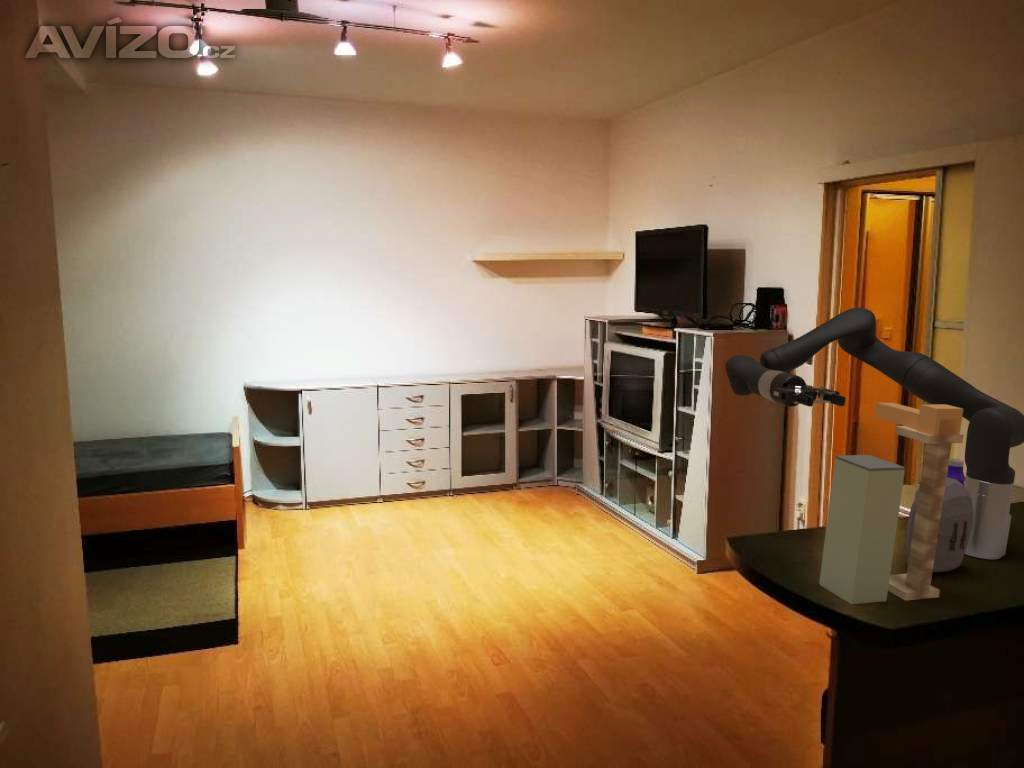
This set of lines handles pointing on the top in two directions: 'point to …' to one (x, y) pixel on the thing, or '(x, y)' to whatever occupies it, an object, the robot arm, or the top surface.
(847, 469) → the tall grey-green pillar
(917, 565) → the tan table
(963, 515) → the soft grey pack
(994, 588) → the top surface
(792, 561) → the top surface
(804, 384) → the robot arm
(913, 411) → the orange wooden block
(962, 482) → the bottle
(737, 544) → the top surface
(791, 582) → the top surface
